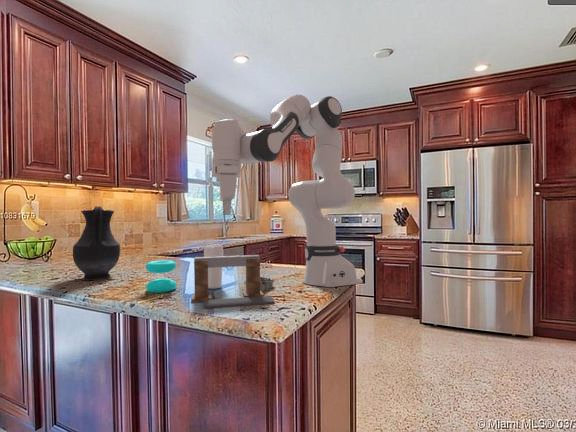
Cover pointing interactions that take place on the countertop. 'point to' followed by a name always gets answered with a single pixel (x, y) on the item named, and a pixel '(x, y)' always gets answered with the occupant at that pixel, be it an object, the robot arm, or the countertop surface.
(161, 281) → the donuts
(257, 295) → the post
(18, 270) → the countertop surface
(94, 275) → the pitcher
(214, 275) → the drinking glass
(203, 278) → the post
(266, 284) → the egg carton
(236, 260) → the rail
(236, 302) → the grey flat bar
